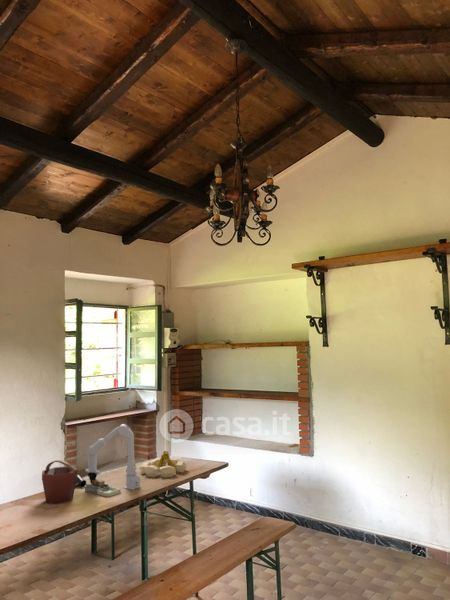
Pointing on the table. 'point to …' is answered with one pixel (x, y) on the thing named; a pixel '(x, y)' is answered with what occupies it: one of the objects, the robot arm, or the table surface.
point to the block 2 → (100, 483)
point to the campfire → (163, 466)
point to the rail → (95, 488)
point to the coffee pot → (80, 481)
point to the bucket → (59, 483)
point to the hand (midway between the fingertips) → (92, 483)
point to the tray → (109, 492)
